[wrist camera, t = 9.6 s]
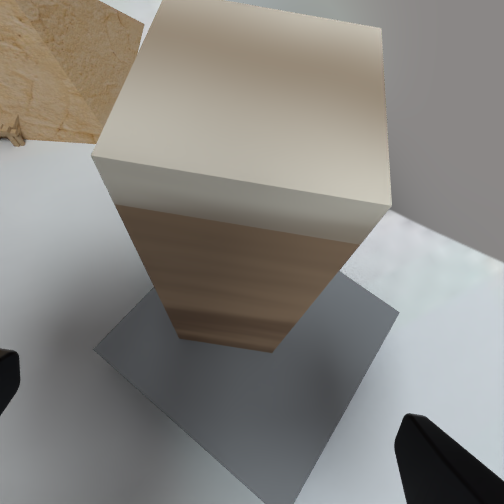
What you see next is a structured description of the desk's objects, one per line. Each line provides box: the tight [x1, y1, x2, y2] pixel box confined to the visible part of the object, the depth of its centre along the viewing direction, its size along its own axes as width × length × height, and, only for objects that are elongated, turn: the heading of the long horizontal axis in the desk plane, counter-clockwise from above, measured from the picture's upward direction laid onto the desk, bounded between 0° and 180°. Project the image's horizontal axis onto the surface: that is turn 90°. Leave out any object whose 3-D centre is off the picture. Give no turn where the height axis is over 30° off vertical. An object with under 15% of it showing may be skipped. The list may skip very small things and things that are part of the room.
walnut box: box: [91, 0, 392, 353], centre depth 13 cm, size 5×5×14 cm
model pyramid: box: [0, 0, 144, 147], centre depth 26 cm, size 17×17×10 cm
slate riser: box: [93, 271, 400, 504], centre depth 20 cm, size 12×12×3 cm
